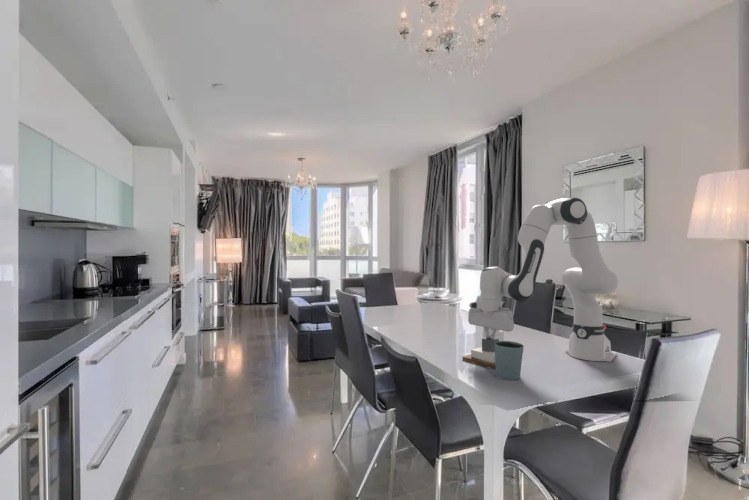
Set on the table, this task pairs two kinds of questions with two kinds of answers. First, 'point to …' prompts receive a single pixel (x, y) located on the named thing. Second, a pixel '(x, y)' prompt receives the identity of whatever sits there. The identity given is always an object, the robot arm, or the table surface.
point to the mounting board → (479, 361)
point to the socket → (483, 355)
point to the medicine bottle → (496, 334)
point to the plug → (489, 344)
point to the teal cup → (508, 359)
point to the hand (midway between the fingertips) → (490, 338)
